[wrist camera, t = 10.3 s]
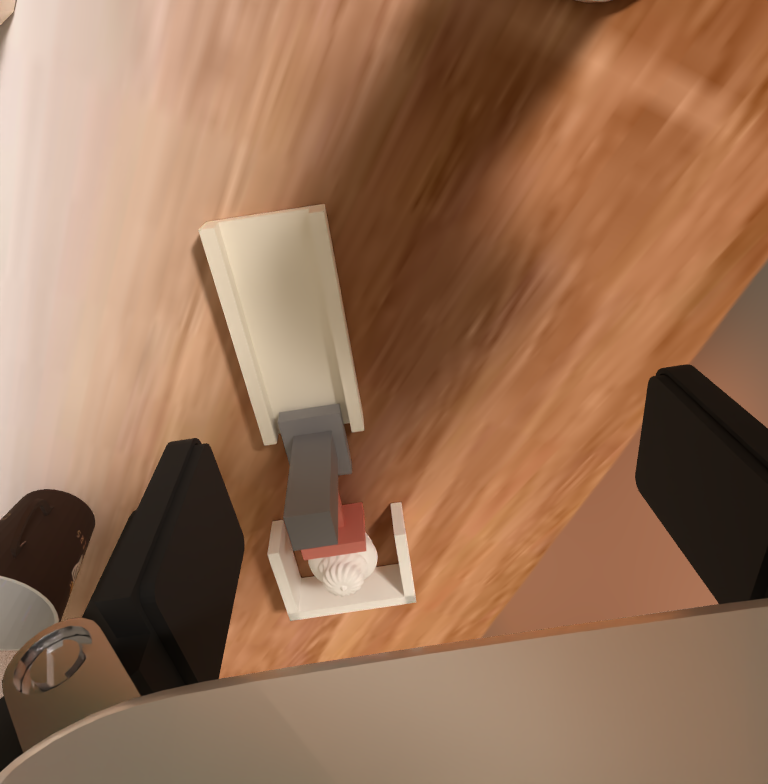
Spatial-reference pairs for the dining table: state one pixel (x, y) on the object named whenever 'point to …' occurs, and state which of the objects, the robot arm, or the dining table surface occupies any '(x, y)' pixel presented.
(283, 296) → the track
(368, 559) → the white ribbed dome
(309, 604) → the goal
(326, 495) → the block
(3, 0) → the white cup
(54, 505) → the coffee mug
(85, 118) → the dining table surface
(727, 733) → the robot arm
